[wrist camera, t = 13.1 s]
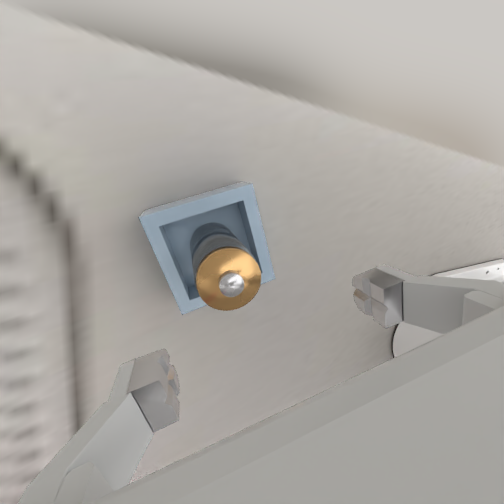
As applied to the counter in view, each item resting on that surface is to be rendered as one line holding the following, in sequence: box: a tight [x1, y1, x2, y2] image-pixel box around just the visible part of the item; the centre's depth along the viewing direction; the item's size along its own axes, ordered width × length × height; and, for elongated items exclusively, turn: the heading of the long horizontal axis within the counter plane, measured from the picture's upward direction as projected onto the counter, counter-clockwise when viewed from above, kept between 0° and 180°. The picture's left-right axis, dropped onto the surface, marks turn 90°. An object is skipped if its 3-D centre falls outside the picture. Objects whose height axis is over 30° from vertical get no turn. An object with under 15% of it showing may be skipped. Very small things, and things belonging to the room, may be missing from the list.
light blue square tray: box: [139, 182, 275, 315], centre depth 20 cm, size 8×8×4 cm
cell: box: [190, 222, 261, 311], centre depth 17 cm, size 4×4×9 cm
